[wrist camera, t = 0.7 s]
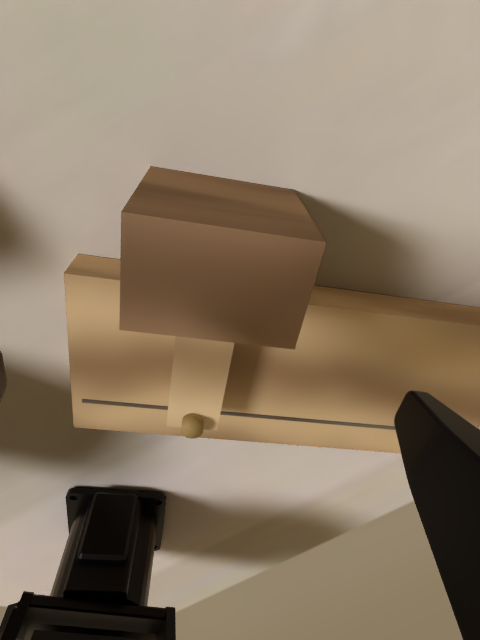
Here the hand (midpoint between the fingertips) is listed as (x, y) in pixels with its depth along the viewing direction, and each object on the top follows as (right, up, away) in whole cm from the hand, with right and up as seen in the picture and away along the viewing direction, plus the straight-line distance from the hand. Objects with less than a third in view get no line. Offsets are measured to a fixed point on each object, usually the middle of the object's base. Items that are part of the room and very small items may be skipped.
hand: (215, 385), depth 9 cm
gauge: (-1, +3, +11) cm, 11 cm away
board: (+3, -1, +13) cm, 13 cm away
